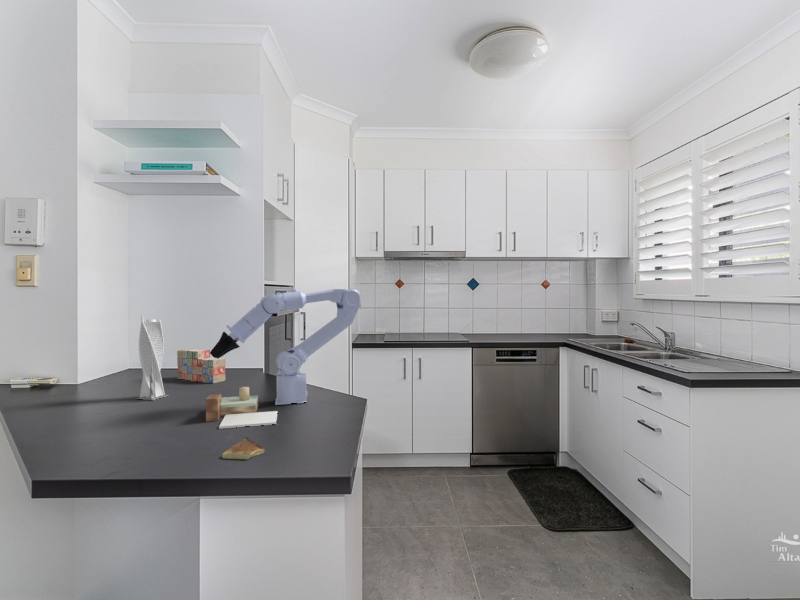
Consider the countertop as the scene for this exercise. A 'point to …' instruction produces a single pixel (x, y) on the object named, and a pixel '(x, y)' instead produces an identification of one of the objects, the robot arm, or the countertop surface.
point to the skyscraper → (151, 359)
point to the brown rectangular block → (213, 407)
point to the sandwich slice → (243, 450)
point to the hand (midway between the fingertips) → (213, 356)
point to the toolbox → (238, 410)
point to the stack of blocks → (200, 366)
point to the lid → (239, 399)
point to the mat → (249, 419)
